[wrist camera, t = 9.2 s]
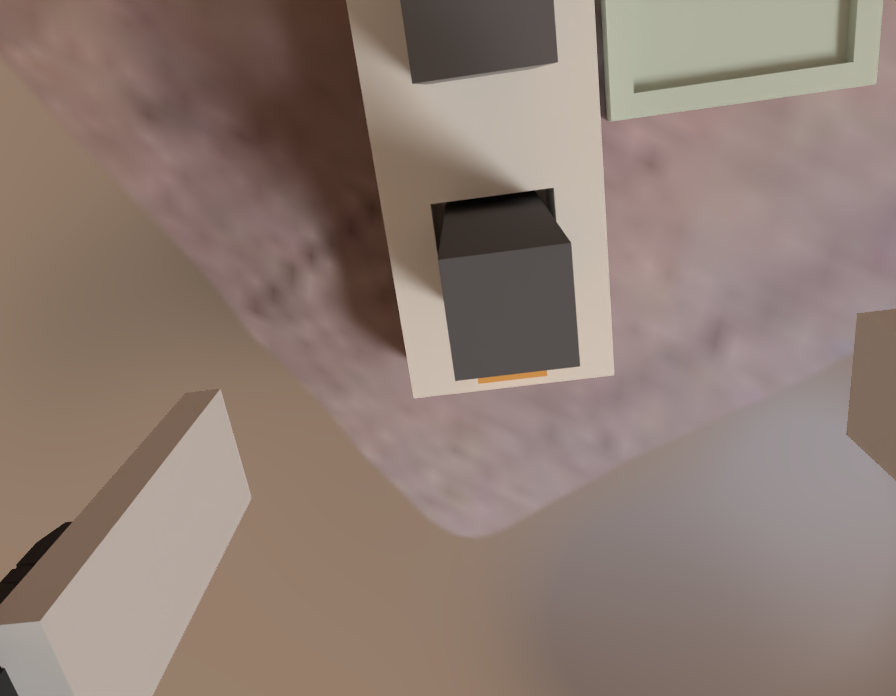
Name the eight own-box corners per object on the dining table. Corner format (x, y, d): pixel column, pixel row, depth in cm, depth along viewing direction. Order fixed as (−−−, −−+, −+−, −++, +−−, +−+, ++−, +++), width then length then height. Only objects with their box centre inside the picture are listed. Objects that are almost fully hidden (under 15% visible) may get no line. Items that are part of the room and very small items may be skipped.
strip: (344, -91, 27) (264, -211, 16) (568, -128, 27) (642, -279, 16) (418, 364, 34) (398, 495, 23) (597, 343, 34) (663, 467, 23)
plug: (457, 286, 32) (455, 380, 22) (446, 202, 31) (437, 259, 20) (542, 276, 32) (580, 366, 22) (534, 190, 30) (571, 242, 20)
